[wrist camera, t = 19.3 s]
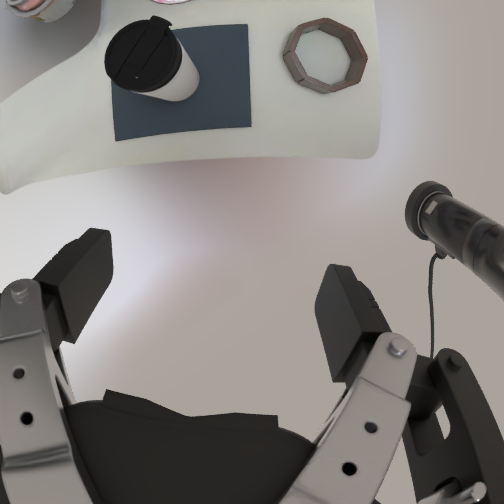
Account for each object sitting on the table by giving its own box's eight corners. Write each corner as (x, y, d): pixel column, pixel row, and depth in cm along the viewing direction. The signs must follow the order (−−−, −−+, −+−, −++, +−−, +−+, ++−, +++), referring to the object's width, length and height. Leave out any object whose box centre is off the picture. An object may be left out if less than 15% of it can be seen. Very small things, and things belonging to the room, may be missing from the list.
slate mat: (247, 25, 32) (247, 24, 31) (251, 126, 39) (251, 126, 38) (112, 43, 30) (110, 42, 30) (116, 141, 38) (115, 141, 37)
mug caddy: (365, 79, 36) (377, 77, 33) (305, 101, 38) (313, 100, 34) (335, 19, 32) (344, 12, 28) (272, 39, 33) (277, 32, 29)
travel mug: (210, 71, 34) (196, 32, 16) (183, 109, 36) (147, 103, 18) (173, 51, 32) (131, 4, 14) (147, 89, 34) (86, 73, 17)
